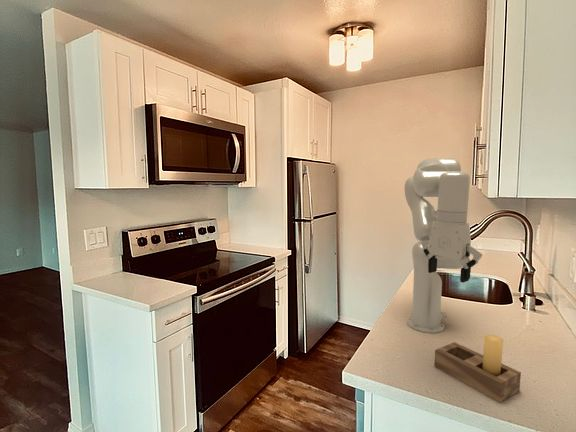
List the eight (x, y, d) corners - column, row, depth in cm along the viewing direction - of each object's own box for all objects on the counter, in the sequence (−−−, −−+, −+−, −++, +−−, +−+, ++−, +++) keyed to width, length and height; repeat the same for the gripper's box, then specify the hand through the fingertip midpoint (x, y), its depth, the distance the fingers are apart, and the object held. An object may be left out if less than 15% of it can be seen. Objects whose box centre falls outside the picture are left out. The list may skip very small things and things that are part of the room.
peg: (486, 376, 88) (490, 333, 87) (502, 384, 85) (506, 339, 84) (478, 380, 86) (481, 336, 85) (494, 389, 83) (497, 343, 82)
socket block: (453, 358, 99) (454, 342, 99) (519, 390, 84) (520, 372, 83) (434, 366, 95) (435, 349, 94) (500, 402, 79) (501, 383, 79)
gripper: (416, 214, 97) (413, 270, 99) (475, 222, 82) (470, 288, 85) (431, 212, 101) (428, 266, 103) (491, 219, 86) (486, 282, 89)
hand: (447, 276), depth 94 cm, fingers open, 9 cm apart
